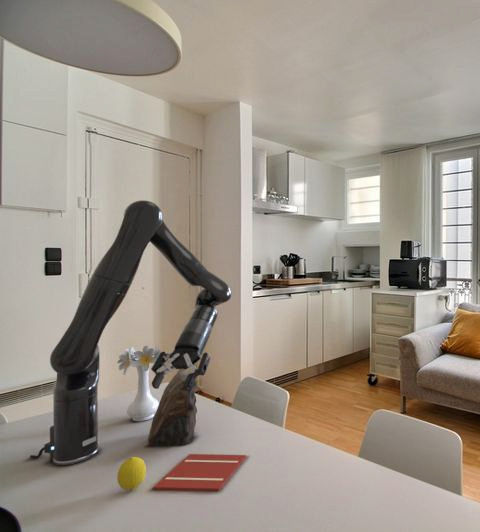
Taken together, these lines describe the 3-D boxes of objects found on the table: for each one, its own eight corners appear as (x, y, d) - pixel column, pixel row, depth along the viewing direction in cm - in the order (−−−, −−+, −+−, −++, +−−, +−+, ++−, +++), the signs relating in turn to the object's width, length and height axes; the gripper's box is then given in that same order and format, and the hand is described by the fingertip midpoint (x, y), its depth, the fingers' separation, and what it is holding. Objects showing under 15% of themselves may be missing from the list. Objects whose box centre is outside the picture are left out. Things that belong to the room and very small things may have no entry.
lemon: (131, 499, 85) (131, 464, 85) (111, 495, 86) (111, 461, 86) (151, 484, 90) (151, 452, 90) (132, 481, 91) (132, 449, 91)
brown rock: (176, 427, 121) (176, 366, 120) (211, 430, 119) (212, 368, 118) (144, 446, 108) (144, 379, 108) (183, 450, 106) (183, 381, 106)
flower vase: (143, 406, 137) (142, 339, 136) (177, 415, 130) (177, 344, 129) (103, 420, 125) (103, 347, 124) (138, 430, 118) (138, 353, 117)
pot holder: (153, 489, 88) (153, 486, 88) (189, 456, 103) (189, 453, 103) (219, 491, 88) (219, 488, 88) (246, 457, 103) (246, 454, 103)
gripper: (165, 329, 109) (137, 381, 97) (213, 330, 108) (190, 382, 97) (176, 343, 114) (151, 393, 103) (222, 344, 114) (201, 394, 103)
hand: (170, 387), depth 100 cm, fingers open, 8 cm apart
